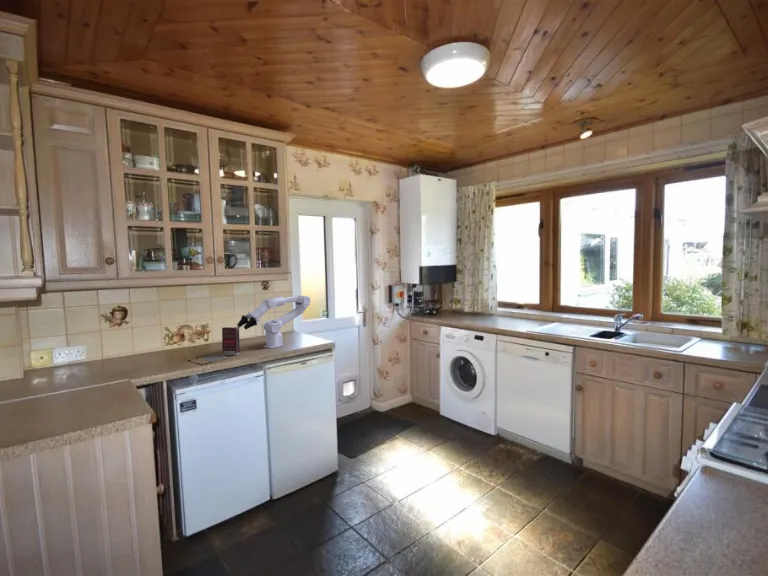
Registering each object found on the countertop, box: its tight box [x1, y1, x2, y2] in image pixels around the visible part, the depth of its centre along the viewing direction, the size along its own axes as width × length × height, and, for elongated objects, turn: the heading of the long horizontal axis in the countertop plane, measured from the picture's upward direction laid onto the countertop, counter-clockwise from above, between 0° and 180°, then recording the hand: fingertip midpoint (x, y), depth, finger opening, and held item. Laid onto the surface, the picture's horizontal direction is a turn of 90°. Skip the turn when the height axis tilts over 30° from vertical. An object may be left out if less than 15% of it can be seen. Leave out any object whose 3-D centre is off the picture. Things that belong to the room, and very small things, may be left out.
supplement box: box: [221, 326, 241, 356], centre depth 226 cm, size 9×5×16 cm, turn 84°
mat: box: [201, 353, 233, 363], centre depth 216 cm, size 18×16×1 cm
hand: (241, 327), depth 229 cm, fingers open, 7 cm apart
